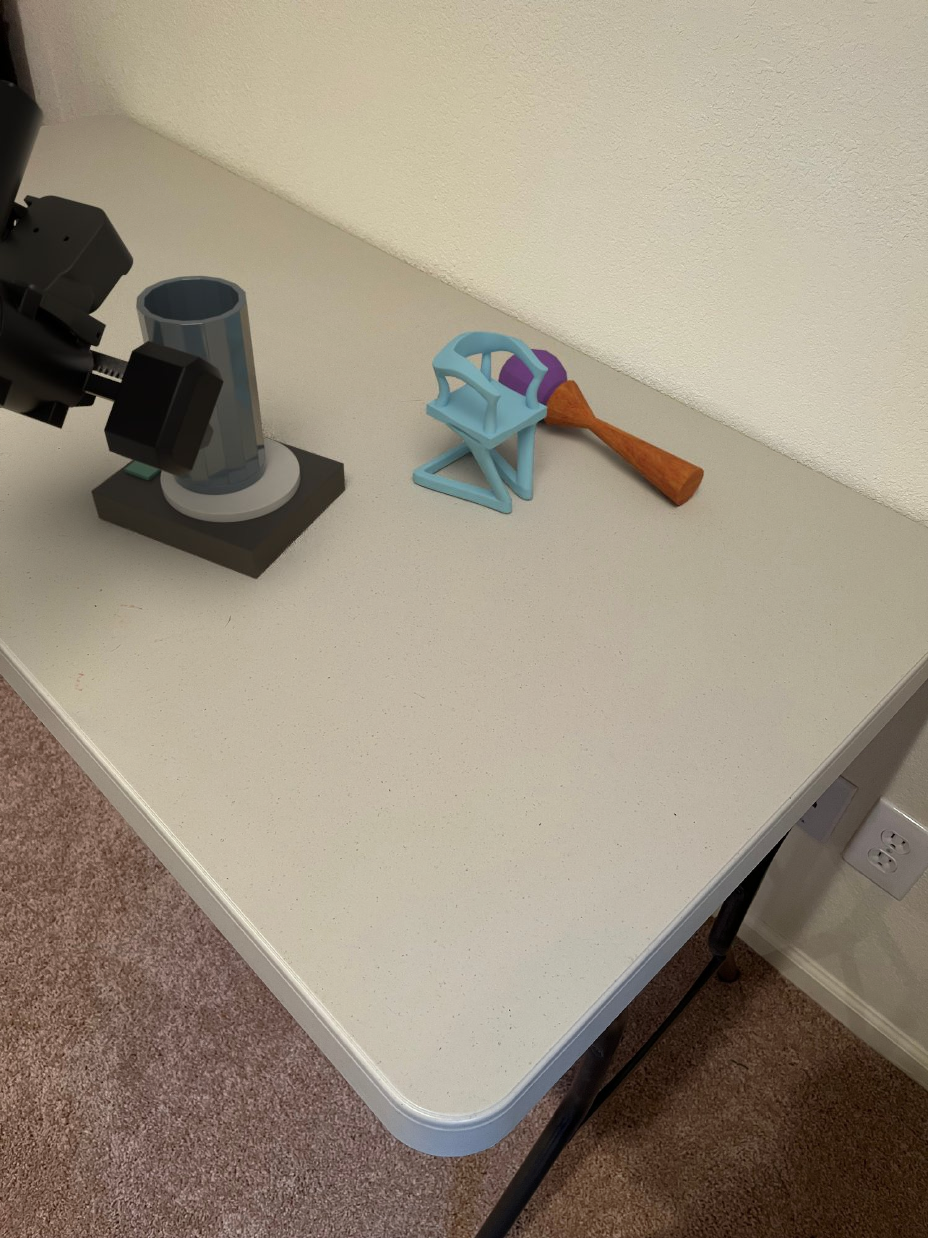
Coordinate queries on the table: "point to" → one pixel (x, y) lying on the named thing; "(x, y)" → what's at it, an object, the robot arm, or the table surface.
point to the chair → (485, 419)
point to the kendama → (601, 426)
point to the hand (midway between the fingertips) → (150, 417)
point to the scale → (226, 508)
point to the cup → (220, 334)
